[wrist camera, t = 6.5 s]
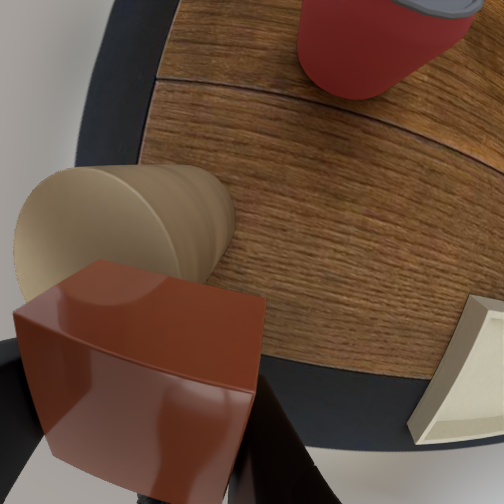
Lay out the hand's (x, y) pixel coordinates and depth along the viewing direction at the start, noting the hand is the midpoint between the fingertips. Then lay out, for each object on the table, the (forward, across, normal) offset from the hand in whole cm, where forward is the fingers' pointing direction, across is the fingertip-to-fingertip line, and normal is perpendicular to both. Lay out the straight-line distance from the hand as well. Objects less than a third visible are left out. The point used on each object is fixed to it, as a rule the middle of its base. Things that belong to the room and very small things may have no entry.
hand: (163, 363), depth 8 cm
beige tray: (+13, -30, +6) cm, 33 cm away
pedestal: (+13, +4, -1) cm, 14 cm away
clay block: (0, 0, 0) cm, 1 cm away
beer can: (+13, -5, -14) cm, 20 cm away
